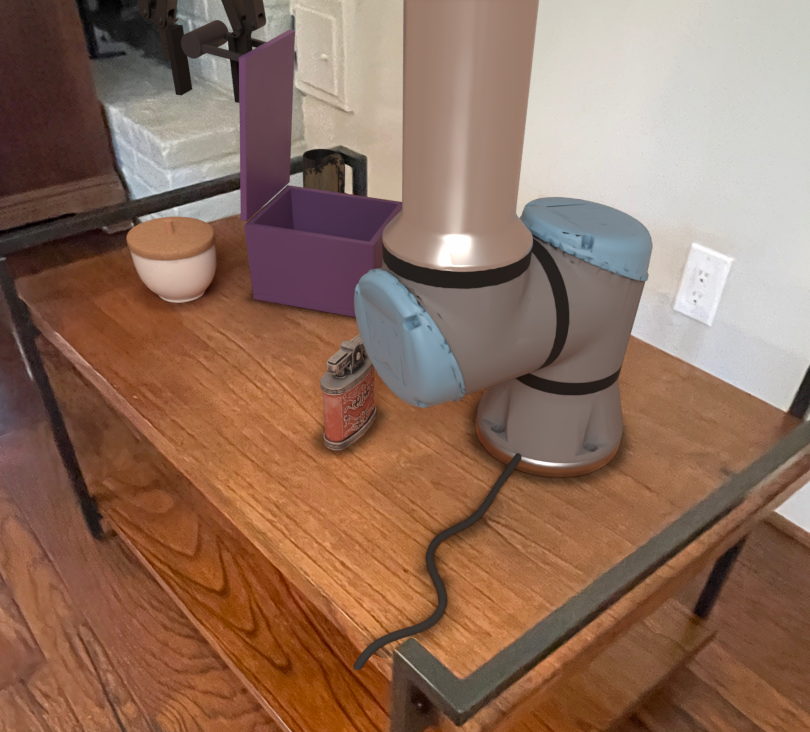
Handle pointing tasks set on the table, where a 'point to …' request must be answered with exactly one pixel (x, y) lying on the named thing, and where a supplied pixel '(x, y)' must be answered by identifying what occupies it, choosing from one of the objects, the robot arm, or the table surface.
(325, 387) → the lighter
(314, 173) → the mug
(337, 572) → the table surface
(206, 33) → the lid
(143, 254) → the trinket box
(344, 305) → the purple box base
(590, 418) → the robot arm
